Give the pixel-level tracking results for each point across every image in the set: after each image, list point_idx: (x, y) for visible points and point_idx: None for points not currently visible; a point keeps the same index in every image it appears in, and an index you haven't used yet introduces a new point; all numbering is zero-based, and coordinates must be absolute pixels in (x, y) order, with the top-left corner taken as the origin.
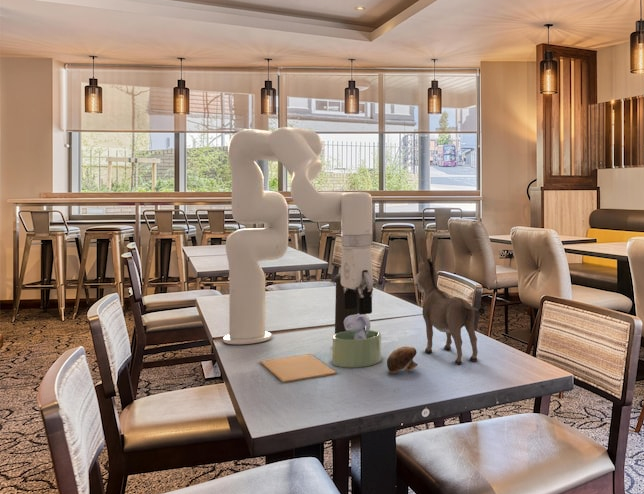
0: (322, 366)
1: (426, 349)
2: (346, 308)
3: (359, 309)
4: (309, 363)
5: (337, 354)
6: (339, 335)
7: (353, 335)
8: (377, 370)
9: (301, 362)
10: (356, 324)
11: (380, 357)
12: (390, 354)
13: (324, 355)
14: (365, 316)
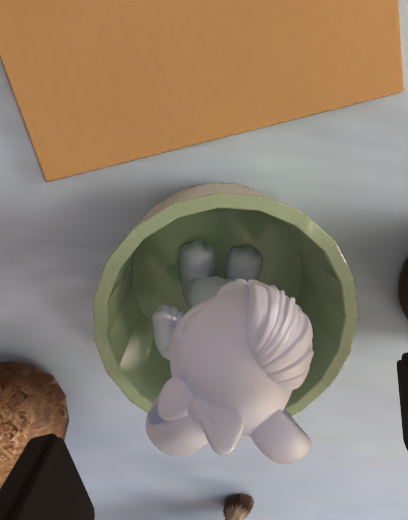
0: (154, 132)
1: (233, 507)
2: (398, 365)
3: (9, 473)
4: (227, 76)
5: (162, 203)
6: (310, 239)
7: (332, 311)
8: (61, 327)
9: (262, 38)
10: (172, 358)
11: None
12: (11, 405)
13: (373, 161)
14: (164, 451)
